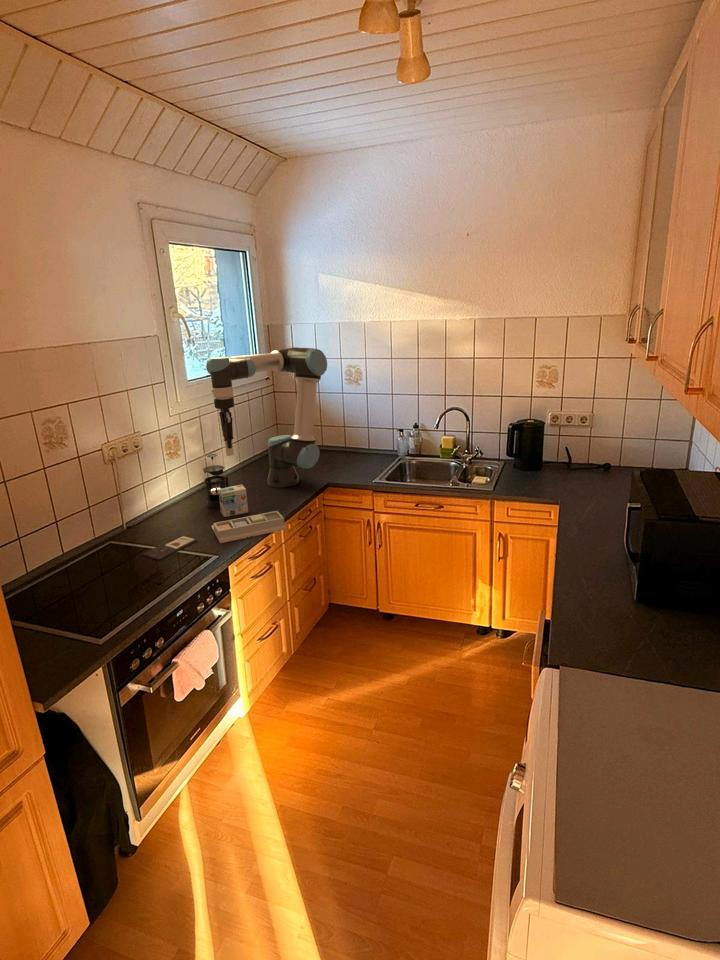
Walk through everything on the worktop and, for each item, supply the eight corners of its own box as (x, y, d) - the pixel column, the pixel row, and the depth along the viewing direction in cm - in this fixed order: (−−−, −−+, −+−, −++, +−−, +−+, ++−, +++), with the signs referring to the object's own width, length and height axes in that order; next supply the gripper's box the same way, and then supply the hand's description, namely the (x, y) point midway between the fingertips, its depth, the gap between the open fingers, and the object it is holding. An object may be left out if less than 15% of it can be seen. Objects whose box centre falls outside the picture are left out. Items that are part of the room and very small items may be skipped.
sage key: (261, 518, 224) (260, 514, 223) (264, 522, 220) (263, 518, 220) (250, 520, 222) (249, 516, 222) (253, 524, 218) (252, 520, 218)
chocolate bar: (142, 554, 203) (180, 535, 217) (142, 556, 203) (181, 537, 217) (158, 559, 198) (197, 539, 212) (159, 561, 198) (197, 542, 213)
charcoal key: (277, 518, 227) (276, 514, 226) (280, 521, 223) (280, 518, 223) (266, 520, 225) (265, 516, 225) (269, 524, 221) (269, 520, 221)
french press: (215, 510, 241) (209, 459, 234) (201, 506, 247) (194, 456, 239) (236, 501, 250) (230, 452, 243) (222, 498, 256) (216, 449, 248)
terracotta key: (229, 527, 219) (228, 523, 219) (231, 531, 215) (231, 528, 215) (217, 530, 218) (217, 526, 217) (220, 534, 214) (219, 530, 213)
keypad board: (274, 515, 234) (273, 506, 233) (286, 529, 220) (285, 519, 219) (211, 527, 224) (210, 518, 223) (220, 543, 210) (219, 533, 209)
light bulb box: (224, 517, 234) (221, 493, 230) (220, 512, 240) (217, 488, 236) (249, 512, 238) (246, 488, 235) (244, 507, 244) (242, 484, 241)
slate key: (245, 524, 222) (245, 520, 221) (248, 528, 218) (247, 524, 217) (234, 526, 220) (233, 522, 220) (236, 530, 216) (236, 527, 216)
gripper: (210, 395, 223) (217, 452, 231) (217, 401, 212) (224, 460, 220) (229, 393, 226) (235, 450, 234) (236, 399, 215) (243, 457, 223)
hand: (230, 455), depth 227 cm, fingers closed
